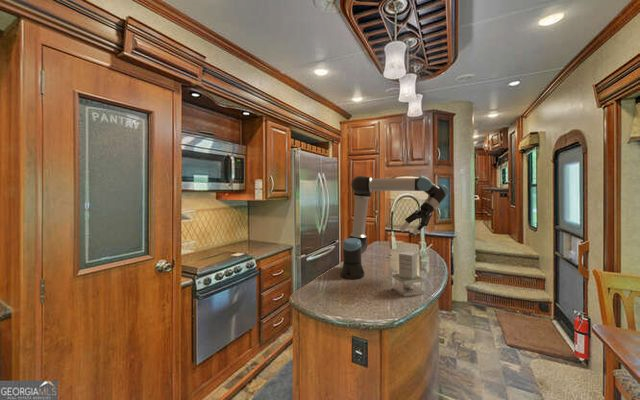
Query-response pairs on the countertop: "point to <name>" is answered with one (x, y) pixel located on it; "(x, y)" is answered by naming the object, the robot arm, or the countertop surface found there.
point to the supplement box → (408, 264)
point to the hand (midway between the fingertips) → (407, 232)
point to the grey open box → (408, 286)
